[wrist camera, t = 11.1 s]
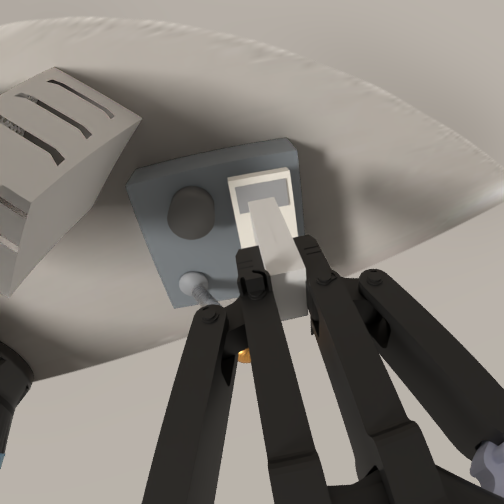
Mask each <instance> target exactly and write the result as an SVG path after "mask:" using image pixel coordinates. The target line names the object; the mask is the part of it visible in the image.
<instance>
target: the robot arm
mask: <svg viewBox="0 0 504 504" xmlns="http://www.w3.org/2000/svg"><path fill="white" fill-rule="evenodd" d="M248 206H249V211H250V217H251V222H252V228H253V233H254V239H255V244H256V246H253V247H248V248H243V249H239V250H238V252H237V254H236V256H235V257H236V264H237V271H238V278H237V285H238V289H239V293H240V295H239V297H238V299H237V300H236V301H235V302H234V303H232V304H230V305H229V306H226V307H224V308H223V307H222V306H220V305H215V304H211V305H206V306H204V307H202V308H200V309H199V310H198V311H197V312H196V313H195V315H194V318H193V321H192V324H191V327H190V331H189V334H188V337H187V340H186V344H185V347H184V350H183V354H182V357H181V361H180V364H179V368H178V371H177V374H176V378H175V381H174V384H173V388H172V391H171V395H170V399H169V402H168V406H167V409H166V413H165V416H164V420H163V424H162V427H161V431H160V435H159V438H158V442H157V446H156V450H155V453H154V457H153V461H152V465H151V469H150V473H149V477H148V481H147V485H146V489H145V493H144V497H143V501H142V504H214V500H215V494H216V488H217V482H218V476H219V470H220V464H221V458H222V452H223V446H224V440H225V434H226V428H227V422H228V416H229V410H230V404H231V398H232V392H233V385H234V379H235V374H236V368H237V362H238V356H239V354H238V353H239V352H241V351H243V350H245V349H247V348H249V353H250V359H251V365H252V371H253V377H254V383H255V389H256V395H257V401H258V407H259V412H260V418H261V424H262V429H263V435H264V441H265V446H266V452H267V458H268V471H269V476H270V482H271V487H272V493H273V498H274V504H504V389H503V388H502V387H501V386H500V385H499V384H498V382H497V381H496V380H495V379H494V378H493V377H492V376H491V375H490V374H489V373H488V372H487V370H486V369H485V368H484V367H483V366H482V365H481V364H480V363H479V362H478V361H477V360H476V359H475V358H474V357H473V356H472V355H471V354H470V353H469V352H468V351H467V350H466V349H465V348H464V347H463V345H462V344H460V342H459V341H458V340H457V339H456V338H455V337H453V335H452V334H451V333H450V332H449V331H447V329H446V328H444V327H443V326H442V325H441V324H440V323H439V322H438V321H437V320H436V319H435V318H434V317H433V316H432V315H431V314H430V313H429V312H428V311H427V310H426V309H425V308H423V306H422V305H421V304H419V303H418V302H417V301H416V300H415V299H414V298H413V297H412V296H411V295H410V294H409V293H408V292H407V291H405V290H404V289H403V288H402V287H401V286H400V285H399V284H398V283H397V282H396V281H394V280H393V279H392V278H391V277H390V276H389V275H387V273H385V272H383V271H382V270H378V269H369V270H365V271H364V272H363V273H361V275H360V277H359V278H355V279H354V278H343V277H340V275H339V274H338V273H337V272H335V271H333V270H331V268H330V266H329V264H328V262H327V260H326V258H325V257H324V255H323V253H322V251H321V249H320V247H319V245H318V243H317V242H316V240H315V239H314V238H313V237H311V236H310V235H304V236H299V237H294V238H292V236H291V233H290V231H289V229H288V227H287V224H286V222H285V220H284V218H283V215H282V213H281V211H280V209H279V207H278V204H277V202H276V200H275V198H274V197H271V198H265V199H260V200H255V201H250V202H248ZM308 310H309V312H310V315H311V335H313V334H315V337H316V340H317V343H318V346H319V349H320V351H321V354H322V357H323V360H324V363H325V366H326V369H327V372H328V375H329V378H330V381H331V384H332V387H333V390H334V393H335V396H336V399H337V402H338V405H339V408H340V412H341V415H342V418H343V421H344V424H345V427H346V430H347V433H348V437H349V439H350V443H351V446H352V449H353V453H354V456H355V466H356V472H357V476H358V479H359V481H358V482H356V483H354V484H352V485H339V486H327V485H326V481H325V477H324V473H323V469H322V466H321V462H320V459H319V456H318V453H317V452H316V449H315V446H314V442H313V438H312V435H311V431H310V427H309V423H308V420H307V416H306V412H305V408H304V405H303V401H302V397H301V393H300V390H299V386H298V382H297V378H296V374H295V371H294V367H293V363H292V359H291V356H290V353H289V348H288V345H287V341H286V338H285V334H284V330H283V326H282V323H281V321H284V320H288V319H293V318H297V317H302V316H307V315H308ZM379 354H380V355H381V356H382V357H383V359H384V360H385V361H386V362H387V363H388V364H389V366H390V367H391V368H392V369H393V371H394V372H395V373H396V374H397V375H398V377H399V378H400V379H401V380H402V381H403V383H404V384H405V385H406V386H407V387H408V389H409V390H410V391H411V392H412V394H413V395H414V396H415V397H416V399H417V400H418V401H419V402H420V404H421V405H422V406H423V407H424V409H425V410H426V411H427V412H428V413H429V415H430V416H431V417H432V418H433V420H434V421H435V422H436V424H437V425H438V426H439V427H440V428H441V430H442V431H443V432H444V434H445V435H446V436H447V438H448V439H449V440H450V441H451V442H452V443H453V445H454V446H455V447H456V448H457V449H458V450H459V451H460V452H461V453H462V454H463V455H464V456H466V457H467V458H468V459H470V460H471V461H472V463H471V468H470V474H471V476H473V477H476V478H477V479H478V481H479V482H480V484H481V487H479V486H477V485H475V484H473V483H471V482H469V481H467V480H465V479H463V478H461V477H459V476H457V475H455V474H453V473H451V472H449V471H447V470H445V469H443V468H441V467H439V466H437V465H435V463H434V461H433V459H432V456H431V453H430V451H429V448H428V446H427V444H426V441H425V438H424V436H423V434H422V431H421V429H420V427H419V426H418V424H417V423H416V422H414V421H411V420H409V418H408V417H407V415H406V413H405V411H404V408H403V406H402V404H401V401H400V399H399V397H398V394H397V392H396V390H395V388H394V385H393V383H392V381H391V379H390V377H389V374H388V372H387V370H386V368H385V366H384V364H383V361H382V360H381V357H380V355H379ZM33 378H34V377H33V373H32V371H31V369H30V367H29V366H28V365H27V363H26V362H25V361H24V360H23V359H22V358H21V357H20V356H19V355H18V354H16V353H15V352H14V351H13V350H11V349H10V348H9V347H7V346H6V345H4V344H2V343H1V342H0V469H1V465H2V462H3V458H4V456H5V449H6V444H7V439H8V435H9V431H10V427H11V423H12V419H13V415H14V411H15V408H16V407H17V405H18V404H19V403H20V401H21V400H22V399H23V397H24V396H25V395H26V393H27V392H28V391H29V390H30V387H31V385H32V382H33Z"/></svg>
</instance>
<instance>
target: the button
mask: <svg viewBox="0 0 504 504" xmlns="http://www.w3.org/2000/svg"><path fill="white" fill-rule="evenodd" d="M167 222H168V225H169V228H170V229H171V231H172V232H173V233H174V234H175V235H177V236H178V237H181V238H183V239H187V240H195V239H200V238H202V237H204V236H206V235H207V234H208V233H209V232H210V231H211V230H212V228H213V226H214V222H215V209H214V200H213V198H212V196H211V195H210V194H209V192H207V191H206V190H205V189H203V188H200V187H197V186H187V187H184V188H182V189H180V190H178V191H177V192H176V193H175V194H174V196H173V197H172V200H171V203H170V207H169V211H168V215H167Z"/></svg>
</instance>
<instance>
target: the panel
mask: <svg viewBox="0 0 504 504" xmlns="http://www.w3.org/2000/svg"><path fill="white" fill-rule="evenodd" d="M284 167H287V168H288V169H289V170H290V176H291V184H292V191H293V199H294V207H295V215H296V223H297V232H298V237H299V236H304V235H305V231H304V218H303V206H302V194H301V183H300V172H299V162H298V152H297V149H296V148H295V147H294V146H293V145H292V143H291V142H290V141H289V140H288V139H287V138H280V139H274V140H268V141H262V142H256V143H250V144H244V145H239V146H234V147H228V148H223V149H218V150H213V151H209V152H204V153H199V154H195V155H190V156H186V157H182V158H177V159H173V160H169V161H165V162H161V163H157V164H153V165H150V166H146V167H142V168H138V169H136V170H135V171H134V173H133V174H132V176H131V178H130V179H129V181H128V182H127V184H126V186H125V187H126V190H127V193H128V196H129V199H130V201H131V204H132V207H133V210H134V212H135V215H136V218H137V220H138V223H139V226H140V228H141V231H142V233H143V236H144V239H145V241H146V244H147V246H148V249H149V251H150V254H151V256H152V259H153V261H154V263H155V266H156V268H157V271H158V273H159V275H160V278H161V280H162V282H163V285H164V287H165V289H166V292H167V294H168V296H169V298H170V301H171V303H172V305H173V307H174V309H175V308H181V307H187V306H193V305H198V304H199V303H198V302H197V301H196V300H195V298H194V297H193V296H192V294H191V289H192V287H193V286H194V285H196V284H201V285H203V286H204V287H205V288H206V289H207V290H208V291H209V293H210V294H211V295H212V296H213V297H214V298H215V299H216V300H217V301H221V300H227V299H232V298H238V297H239V295H240V293H239V289H238V285H237V278H238V271H237V264H236V257H235V256H236V254H237V252H238V250H239V249H241V244H240V239H239V234H238V229H237V224H236V220H235V215H234V210H233V205H232V200H231V195H230V190H229V185H228V177H233V176H239V175H244V174H249V173H255V172H260V171H266V170H272V169H278V168H284ZM187 186H197V187H200V188H203V189H205V190H206V191H207V192H209V194H210V195H211V196H212V198H213V200H214V209H215V222H214V226H213V228H212V230H211V231H210V232H209V233H208V234H207V235H206V236H204V237H202V238H200V239H195V240H187V239H183V238H181V237H178V236H177V235H175V234H174V233H173V232H172V231H171V229H170V228H169V225H168V222H167V215H168V211H169V207H170V203H171V200H172V197H173V196H174V194H175V193H176V192H177V191H178V190H180V189H182V188H184V187H187Z"/></svg>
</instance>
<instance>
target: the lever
mask: <svg viewBox="0 0 504 504" xmlns="http://www.w3.org/2000/svg"><path fill="white" fill-rule="evenodd" d="M191 294H192V296H193V297H194V298H195V300H196V301H197V302H198V303H199V305H200V306H201V307H204V306H206V305H211V304H215V305H220V304H219V303H218V302H217V300H216V299H215V298H214V297H213V296H212V295H211V294H210V293H209V291H208V290H207V289H206V288H205V287H204V286H203V285H201V284H196V285H194V286H193V287H192V289H191ZM220 306H221V305H220ZM238 354H239V356H238V361H239V362H241V363H251V359H250V353H249V348H247V349H245V350H243V351H241V352H239V353H238Z"/></svg>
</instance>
